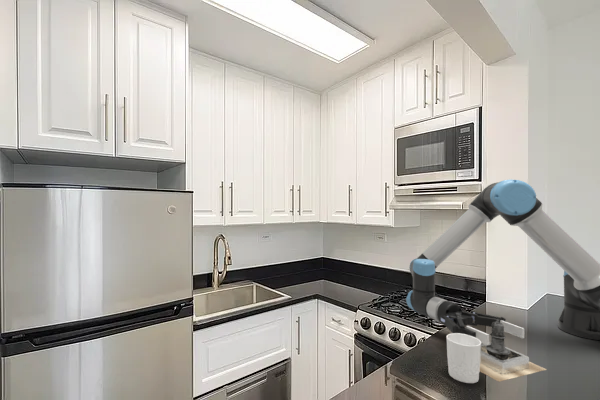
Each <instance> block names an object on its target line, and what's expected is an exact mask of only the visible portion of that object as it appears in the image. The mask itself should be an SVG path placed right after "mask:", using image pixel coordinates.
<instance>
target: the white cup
mask: <svg viewBox="0 0 600 400" xmlns="http://www.w3.org/2000/svg"><path fill="white" fill-rule="evenodd" d="M481 344H482V343H481V341H480V340H479V339H477V338H475V337H473V336H470V335H466V334H461V333H452V332H451V333H449V334H446V356H447V366H448V368H447V369H448V374H449V376H450V377H451V378H453V379H454V380H456V381H458V382H461V383H466V384H475V383H477V382H479V379H480V373H481V372H480V360H481Z"/></svg>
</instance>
